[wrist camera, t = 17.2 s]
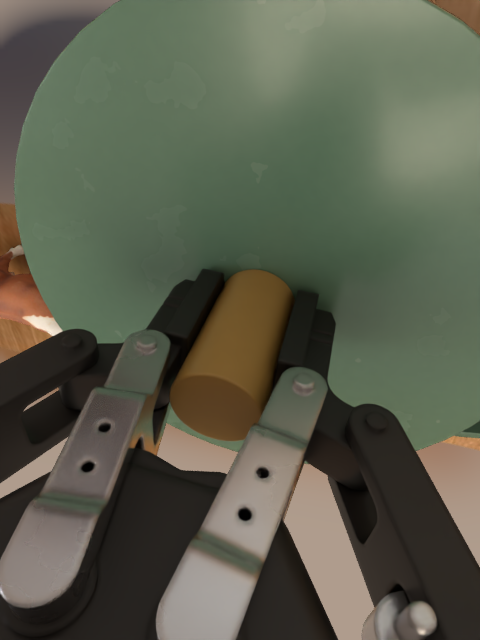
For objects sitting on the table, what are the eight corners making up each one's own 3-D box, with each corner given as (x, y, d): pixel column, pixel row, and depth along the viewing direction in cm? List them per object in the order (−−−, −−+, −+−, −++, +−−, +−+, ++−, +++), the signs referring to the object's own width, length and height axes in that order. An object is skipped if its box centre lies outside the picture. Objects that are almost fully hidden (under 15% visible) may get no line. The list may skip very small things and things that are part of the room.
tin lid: (759, 10, 9) (1143, 65, 4) (432, 484, 21) (444, 635, 16) (-31, -79, 12) (-310, -103, 7) (75, 386, 24) (-3, 491, 19)
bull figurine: (140, 314, 42) (98, 374, 36) (9, 269, 43) (-54, 321, 37) (143, 277, 39) (98, 336, 33) (3, 230, 40) (-67, 279, 34)
